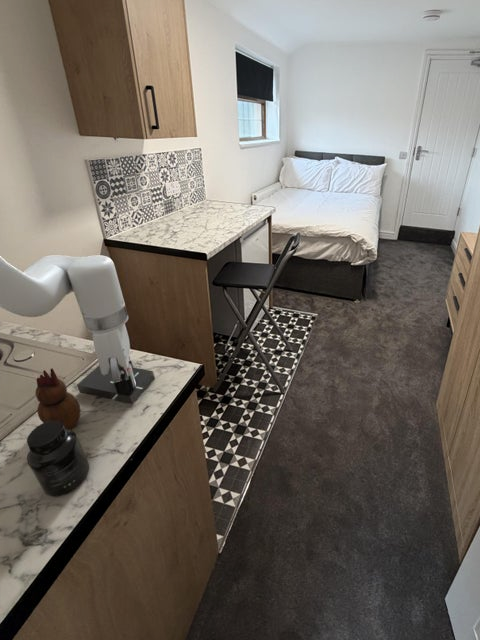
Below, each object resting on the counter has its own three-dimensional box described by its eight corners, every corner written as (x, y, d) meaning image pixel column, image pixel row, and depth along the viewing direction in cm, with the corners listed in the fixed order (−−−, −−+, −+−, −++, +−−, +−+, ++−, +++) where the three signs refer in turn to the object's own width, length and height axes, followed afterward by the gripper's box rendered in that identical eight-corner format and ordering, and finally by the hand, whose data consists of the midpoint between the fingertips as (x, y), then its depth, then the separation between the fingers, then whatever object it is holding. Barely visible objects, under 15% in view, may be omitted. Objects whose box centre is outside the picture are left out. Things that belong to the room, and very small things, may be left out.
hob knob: (112, 390, 72) (106, 371, 70) (125, 377, 75) (119, 359, 73) (127, 393, 71) (122, 375, 69) (139, 380, 75) (135, 362, 72)
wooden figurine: (90, 418, 68) (69, 363, 62) (63, 442, 63) (37, 384, 57) (67, 409, 70) (44, 354, 64) (40, 430, 65) (12, 374, 59)
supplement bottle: (39, 479, 57) (14, 432, 52) (83, 452, 61) (64, 407, 56) (49, 508, 53) (23, 461, 47) (96, 477, 57) (76, 431, 52)
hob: (73, 398, 73) (70, 389, 72) (105, 369, 81) (103, 360, 80) (131, 411, 70) (129, 402, 69) (159, 379, 78) (157, 371, 77)
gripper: (90, 299, 71) (111, 364, 79) (76, 345, 57) (103, 418, 65) (128, 293, 73) (145, 356, 81) (124, 335, 59) (144, 406, 67)
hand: (126, 383), depth 73 cm, fingers open, 4 cm apart
